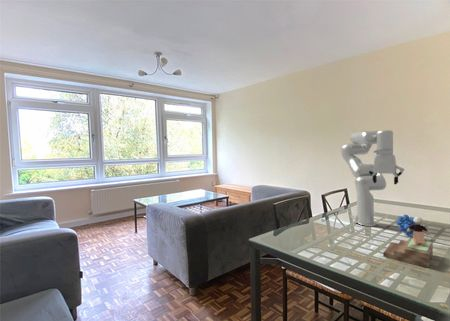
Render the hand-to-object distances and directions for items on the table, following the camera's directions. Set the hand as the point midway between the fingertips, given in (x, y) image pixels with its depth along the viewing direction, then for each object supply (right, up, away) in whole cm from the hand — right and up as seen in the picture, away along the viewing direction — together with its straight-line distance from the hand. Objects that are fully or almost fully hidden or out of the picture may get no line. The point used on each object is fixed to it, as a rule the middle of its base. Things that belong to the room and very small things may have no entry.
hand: (385, 183), depth 132 cm
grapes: (+13, -30, +1) cm, 33 cm away
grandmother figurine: (-2, -26, -24) cm, 35 cm away
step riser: (-4, -32, -22) cm, 38 cm away
